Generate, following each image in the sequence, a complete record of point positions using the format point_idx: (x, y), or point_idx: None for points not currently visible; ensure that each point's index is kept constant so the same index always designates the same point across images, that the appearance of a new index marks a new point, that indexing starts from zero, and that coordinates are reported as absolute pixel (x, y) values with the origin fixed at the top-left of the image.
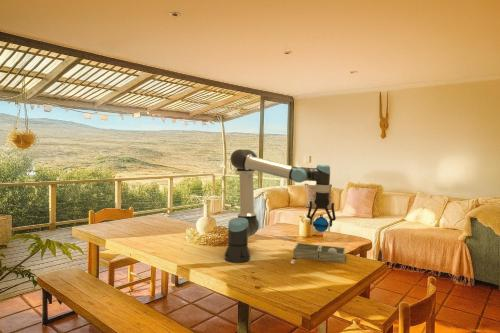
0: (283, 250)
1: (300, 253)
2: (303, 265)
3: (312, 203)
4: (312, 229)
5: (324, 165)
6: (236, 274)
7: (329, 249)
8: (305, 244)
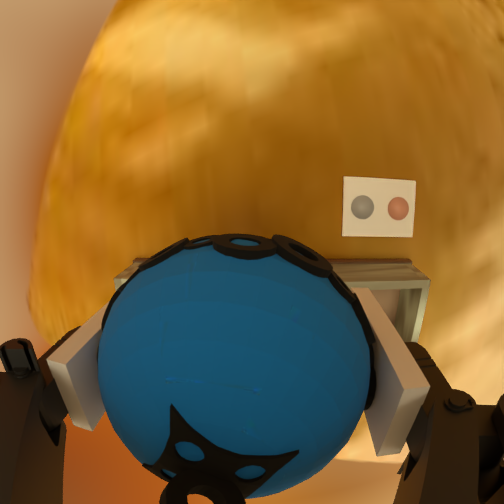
0: (441, 365)
1: (382, 272)
2: (346, 168)
3: None
4: (360, 297)
5: None
6: None
7: None
8: None
